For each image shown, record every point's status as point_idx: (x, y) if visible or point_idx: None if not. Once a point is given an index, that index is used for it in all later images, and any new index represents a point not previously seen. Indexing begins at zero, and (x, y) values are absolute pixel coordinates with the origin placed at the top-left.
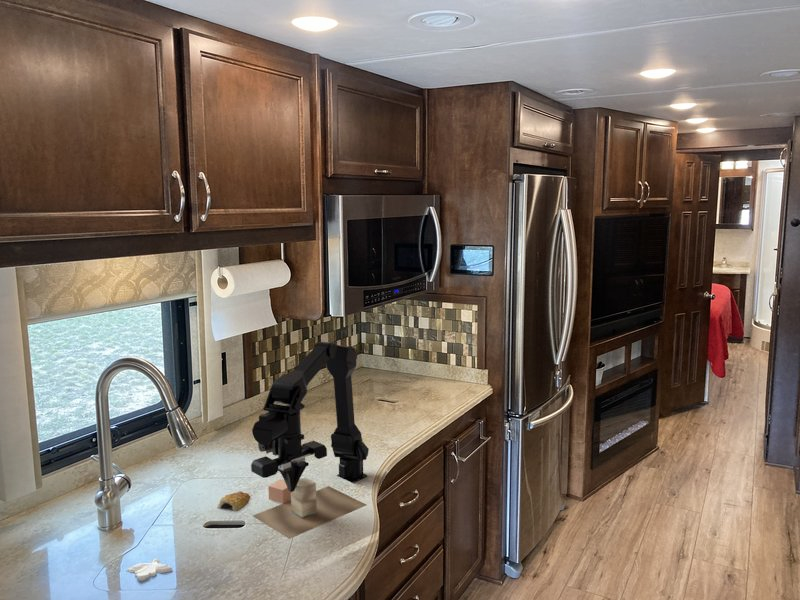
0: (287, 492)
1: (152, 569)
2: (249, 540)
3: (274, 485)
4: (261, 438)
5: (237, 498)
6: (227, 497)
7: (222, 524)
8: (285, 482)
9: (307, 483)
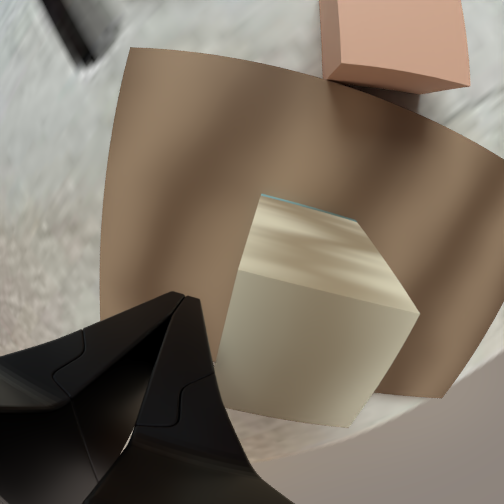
0: (380, 74)
1: None
2: (39, 181)
3: None
4: None
5: None
6: None
7: (66, 2)
8: (110, 321)
9: (306, 400)
